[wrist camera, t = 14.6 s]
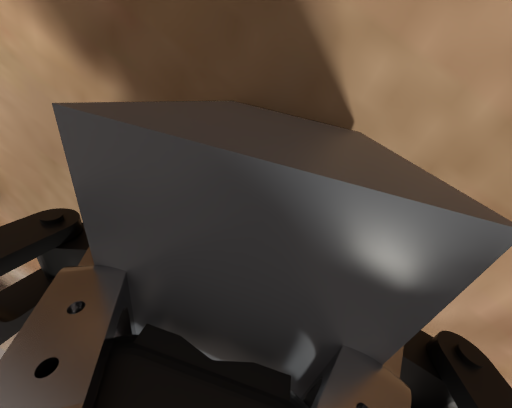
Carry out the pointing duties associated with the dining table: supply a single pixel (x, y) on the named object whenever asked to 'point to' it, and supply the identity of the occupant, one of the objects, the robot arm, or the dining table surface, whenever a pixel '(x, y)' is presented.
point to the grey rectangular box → (270, 230)
